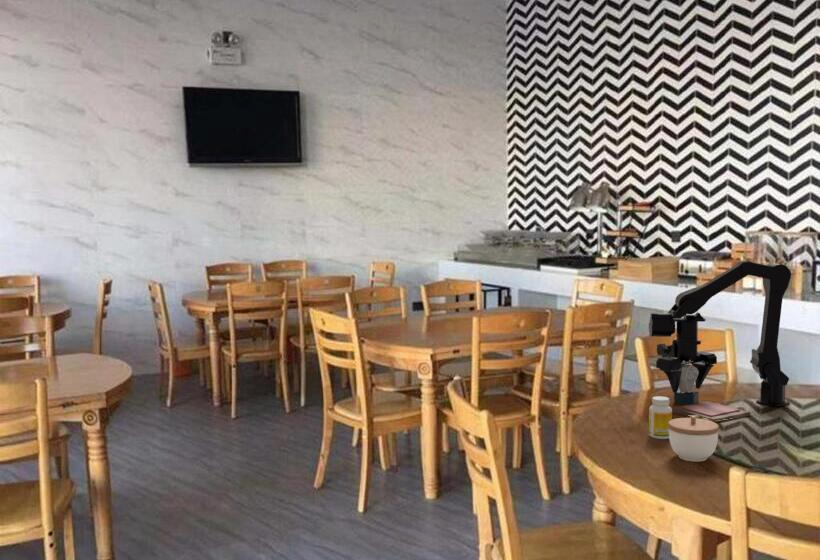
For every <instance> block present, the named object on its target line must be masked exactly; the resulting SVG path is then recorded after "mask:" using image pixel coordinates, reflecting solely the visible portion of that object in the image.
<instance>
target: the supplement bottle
mask: <svg viewBox="0 0 820 560" xmlns="http://www.w3.org/2000/svg"><path fill="white" fill-rule="evenodd" d="M651 402H652V405H650V407H649V408H648V409H649V410H648V414H649V415H648V436H650V438H653V439H658V440H666V439H667V440H668V439H669V427H668V422H669V421H670V420H672V419H673V412H672V407H671V406H669V405H670V397H667V396H661V395H658V396H657V395H656V396H653V397H652V399H651Z"/></svg>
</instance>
